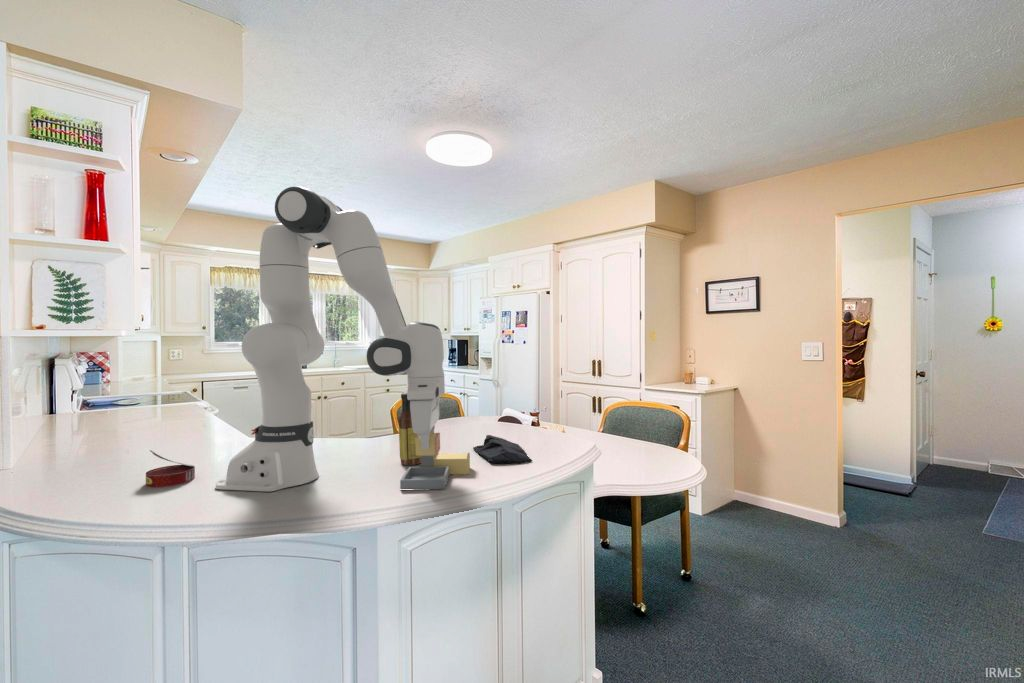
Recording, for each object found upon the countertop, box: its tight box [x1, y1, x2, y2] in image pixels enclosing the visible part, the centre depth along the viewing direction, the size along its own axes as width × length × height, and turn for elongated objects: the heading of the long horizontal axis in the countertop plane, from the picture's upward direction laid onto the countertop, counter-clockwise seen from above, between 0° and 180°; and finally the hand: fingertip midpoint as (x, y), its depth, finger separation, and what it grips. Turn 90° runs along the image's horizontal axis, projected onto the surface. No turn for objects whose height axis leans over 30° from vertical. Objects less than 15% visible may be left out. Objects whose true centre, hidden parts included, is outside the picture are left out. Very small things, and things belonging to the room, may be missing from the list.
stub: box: [415, 432, 441, 455], centre depth 111 cm, size 5×6×4 cm
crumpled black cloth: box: [472, 434, 533, 464], centre depth 138 cm, size 15×22×5 cm
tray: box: [399, 466, 450, 490], centre depth 111 cm, size 10×11×2 cm
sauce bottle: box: [398, 392, 421, 466], centre depth 129 cm, size 7×6×20 cm
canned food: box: [145, 450, 196, 489], centre depth 114 cm, size 11×10×10 cm
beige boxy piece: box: [420, 452, 471, 475], centre depth 121 cm, size 12×8×5 cm, turn 92°
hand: (427, 445), depth 111 cm, fingers closed on stub, 6 cm apart
